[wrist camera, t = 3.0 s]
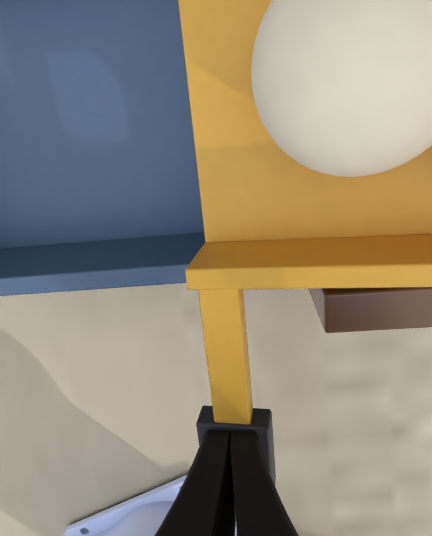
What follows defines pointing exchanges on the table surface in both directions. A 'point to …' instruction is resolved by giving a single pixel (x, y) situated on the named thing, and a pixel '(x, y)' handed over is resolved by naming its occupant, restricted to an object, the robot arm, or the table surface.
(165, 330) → the table surface
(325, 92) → the ball cream
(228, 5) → the yellow tray
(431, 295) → the dish stand
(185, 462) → the table surface
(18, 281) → the bin
